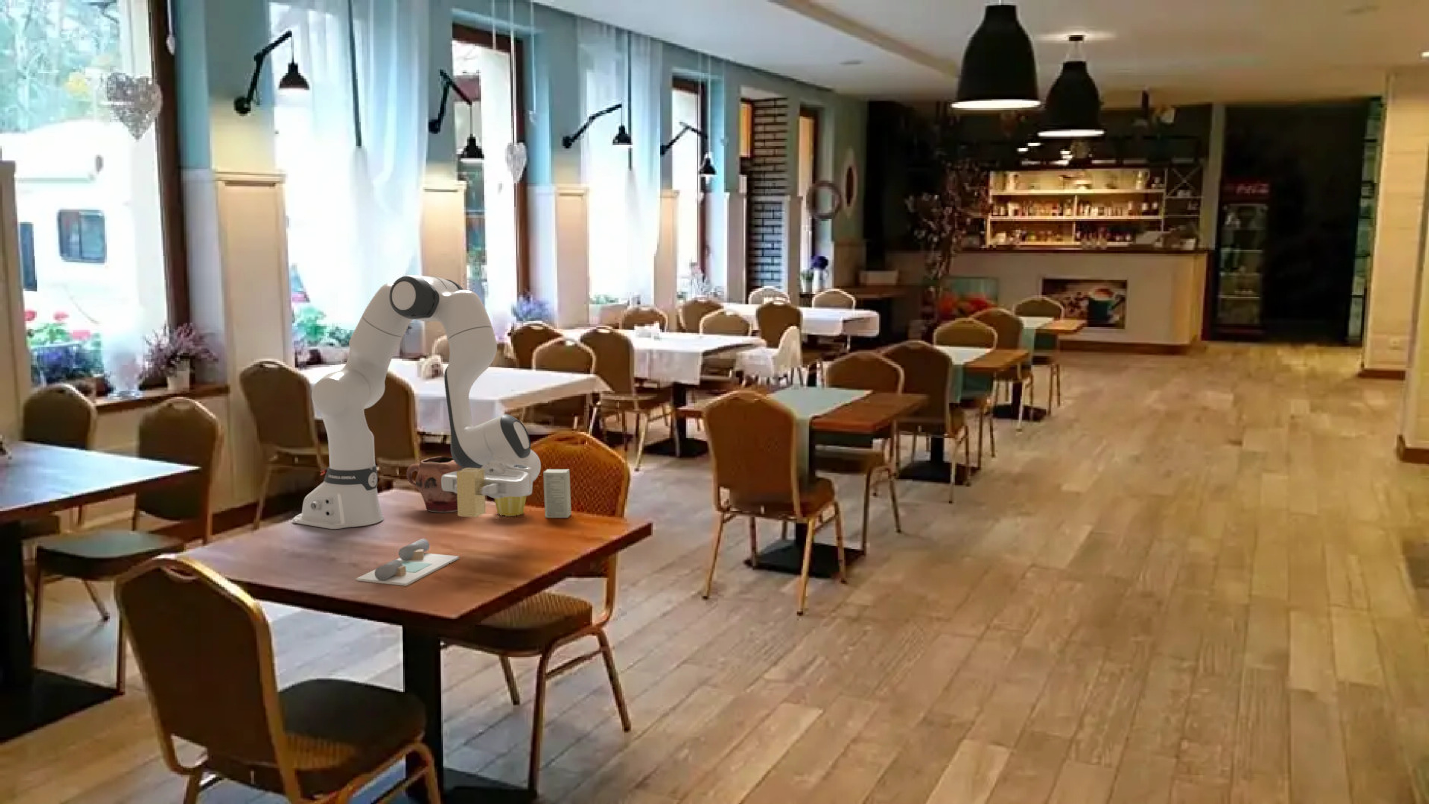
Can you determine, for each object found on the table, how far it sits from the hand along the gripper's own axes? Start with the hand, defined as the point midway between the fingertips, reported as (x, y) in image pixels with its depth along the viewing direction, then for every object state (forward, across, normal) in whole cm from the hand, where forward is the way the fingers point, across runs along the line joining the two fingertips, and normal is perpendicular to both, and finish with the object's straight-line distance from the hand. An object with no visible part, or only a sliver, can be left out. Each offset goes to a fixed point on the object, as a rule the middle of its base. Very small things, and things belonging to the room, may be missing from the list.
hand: (469, 490), depth 260 cm
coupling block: (-1, 0, +6) cm, 6 cm away
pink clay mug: (-45, -34, +17) cm, 59 cm away
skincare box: (-48, -1, +17) cm, 50 cm away
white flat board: (+8, -11, +17) cm, 21 cm away
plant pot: (-46, -14, +17) cm, 51 cm away
